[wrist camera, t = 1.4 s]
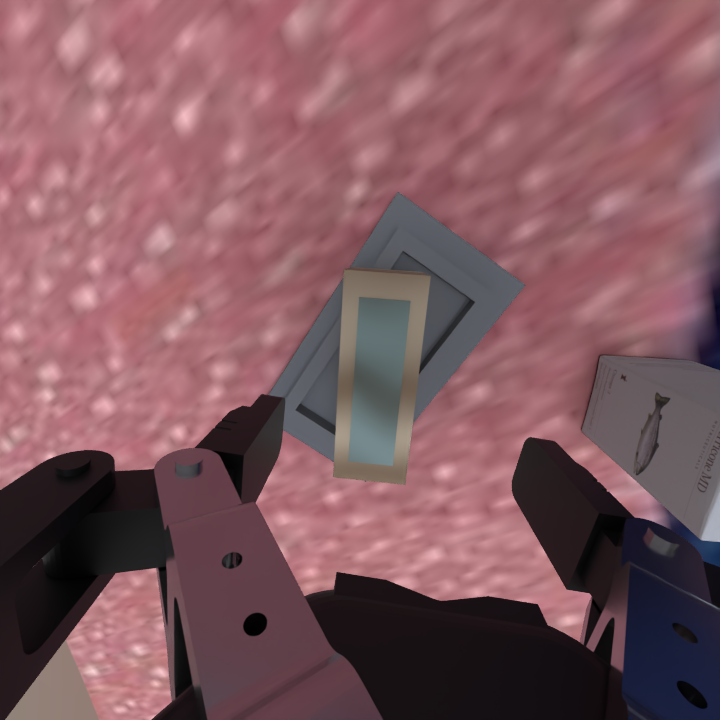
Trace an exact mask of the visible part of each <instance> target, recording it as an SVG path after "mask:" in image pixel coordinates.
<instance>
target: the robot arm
mask: <svg viewBox="0 0 720 720" xmlns="http://www.w3.org/2000/svg"><path fill="white" fill-rule="evenodd" d="M284 413H285V398H284V397H277V396H271V395H265V394H261V395H260V397H259V398H258V399H257V400H256V401H255V402H254V404H253V405H252V406H251V407H247V406H241V407H239V408H237V409H235V410H232V411H230V412H229V413H228V414H227V415H226V416H225V417H224V418H223V419H222V421H220V422H219V423H218V424H217V425H216V426H215V428H213V429H212V431H211V432H210V433H209V434H208V435H207V436H206V437H205V438H204V439H203V440H202V441H201V442H200V443H199V444H198V445H197V446H196V447H195V448H188V449H182V450H178V451H175V452H172V453H169V454H167V455H166V456H164V457H162V458H161V459H160V460H159V461H158V462H157V463H156V465H155V467H154V469H149V470H131V471H115V464H114V458H113V457H112V456H111V455H110V454H108V453H106V452H102V451H96V450H84V451H75V452H70V453H66V454H62V455H59V456H56V457H53V458H51V459H49V460H47V461H45V462H43V463H41V464H39V465H38V466H36V467H35V468H33V469H32V470H30V471H29V472H27V473H26V474H24V475H23V476H21V477H20V478H18V479H17V480H15V481H14V482H12V483H11V484H9V485H8V486H6V487H5V488H3V489H2V490H0V720H5V719H6V718H7V716H8V715H9V713H10V712H11V711H12V710H13V708H14V707H15V706H16V704H17V703H18V702H19V700H20V699H21V698H22V696H23V695H24V694H25V692H26V691H27V690H28V689H29V687H30V686H31V685H32V683H33V682H34V681H35V679H36V678H37V677H38V675H39V674H40V673H41V671H42V670H43V669H44V667H45V666H46V665H47V663H48V662H49V660H50V659H51V658H52V657H53V655H54V654H55V653H56V651H57V650H58V649H59V647H60V646H61V645H62V643H63V642H64V641H65V640H66V638H67V637H68V636H69V634H70V633H71V632H72V630H73V629H74V628H75V626H76V625H77V624H78V622H79V621H80V620H81V618H82V617H83V616H84V614H85V613H86V612H87V610H88V609H89V608H90V606H91V605H92V604H93V602H94V601H95V600H96V599H97V597H98V596H99V595H100V593H101V592H102V591H103V589H104V588H105V587H106V585H107V584H108V583H109V581H110V580H111V579H112V577H113V576H114V575H115V573H120V572H127V571H135V570H143V569H151V568H156V570H157V578H158V585H159V592H160V599H161V607H162V614H163V621H164V628H165V636H166V643H167V654H168V668H169V680H170V690H171V698H172V702H171V703H170V704H169V705H168V706H167V707H165V708H164V709H163V710H162V711H161V712H160V713H159V714H157V715H156V716H155V717H154V718H153V719H152V720H720V567H718V566H715V565H712V564H709V563H707V562H704V561H703V559H702V557H701V555H700V553H699V552H698V551H697V549H696V548H695V547H694V546H693V545H692V544H690V543H689V542H688V541H687V540H685V539H684V538H683V537H681V536H680V535H678V534H677V533H675V532H673V531H672V530H670V529H668V528H666V527H664V526H662V525H660V524H657V523H655V522H652V521H649V520H646V519H641V518H635V517H634V516H633V515H632V514H631V513H630V512H629V511H628V510H627V509H626V508H625V507H624V506H623V505H622V504H621V503H620V502H619V501H618V500H617V499H616V498H615V497H614V496H613V495H612V494H611V493H610V492H607V491H606V490H607V489H606V488H605V487H604V486H603V485H602V484H601V483H600V482H597V479H596V478H595V477H594V476H593V475H592V474H591V473H590V472H589V471H588V470H587V469H585V468H584V467H582V466H581V465H579V464H578V463H576V462H575V461H574V460H573V459H572V458H571V457H570V456H569V455H568V454H567V453H566V452H565V451H564V450H563V449H562V448H561V447H560V446H559V445H558V444H557V443H556V442H555V441H551V440H545V439H539V438H532V437H529V438H527V439H526V441H525V442H524V445H523V448H522V451H521V454H520V457H519V460H518V463H517V466H516V470H515V473H514V476H513V479H512V493H513V496H514V498H515V500H516V502H517V504H518V506H519V507H520V509H521V511H522V512H523V514H524V516H525V518H526V519H527V521H528V523H529V525H530V526H531V528H532V530H533V532H534V533H535V535H536V537H537V539H538V540H539V542H540V544H541V546H542V547H543V549H544V551H545V553H546V554H547V556H548V558H549V559H550V561H551V563H552V565H553V566H554V568H555V570H556V572H557V573H558V575H559V577H560V579H561V580H562V582H563V584H564V586H565V587H566V589H567V590H573V591H579V592H585V593H590V594H591V596H592V597H591V599H590V601H589V603H588V606H587V608H586V613H585V618H584V623H583V628H582V633H581V638H580V642H578V641H577V640H575V639H573V638H572V637H570V636H568V635H567V634H565V633H563V632H561V631H559V630H557V629H555V628H553V627H551V626H548V625H547V623H546V621H545V619H544V616H543V614H542V612H541V610H540V608H539V606H538V604H533V603H527V602H520V601H514V600H508V599H502V598H495V597H489V596H487V597H477V598H468V599H458V600H448V601H439V600H435V599H432V598H430V597H427V596H425V595H422V594H420V593H417V592H415V591H412V590H410V589H407V588H405V587H402V586H400V585H397V584H395V583H392V582H390V581H387V580H383V579H377V578H371V577H364V576H358V575H352V574H346V573H339V572H337V574H336V580H335V586H334V590H326V591H321V592H316V593H312V594H309V595H306V596H304V595H303V593H302V591H301V589H300V587H299V585H298V583H297V581H296V579H295V577H294V575H293V573H292V571H291V570H290V568H289V566H288V564H287V562H286V560H285V558H284V556H283V554H282V552H281V550H280V548H279V546H278V544H277V543H276V541H275V539H274V537H273V535H272V533H271V531H270V529H269V527H268V525H267V523H266V521H265V519H264V517H263V516H262V514H261V512H260V510H259V508H258V506H257V504H256V501H257V499H258V497H259V495H260V493H261V491H262V489H263V487H264V485H265V483H266V481H267V479H268V477H269V475H270V473H271V471H272V469H273V467H274V465H275V463H276V461H277V458H278V456H279V452H280V448H281V443H282V434H283V423H284ZM33 566H34V567H33Z"/></svg>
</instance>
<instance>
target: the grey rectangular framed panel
mask: <svg viewBox="0 0 720 720" xmlns="http://www.w3.org/2000/svg"><path fill="white" fill-rule="evenodd" d="M352 267H359V268H373V269H387V270H402V271H416V272H423V273H425V274H428V275H430V276H431V279H430V287H429V295H428V303H427V311H426V320H425V328H424V336H423V344H422V352H421V360H420V369H419V377H418V385H417V393H416V401H415V409H414V418H413V423H414V422H415V420H416V419H417V418H418V417H419V415H420V414H421V413H422V412H423V410H424V409H425V408H426V407H427V406H428V404H429V403H430V402H431V401H432V399H433V398H434V397H435V396H436V394H437V393H438V392H439V391H440V390H441V388H442V387H443V386H444V385H445V383H446V382H447V381H448V380H449V379H450V377H451V376H452V375H453V374H454V372H455V371H456V370H457V369H458V367H459V366H460V365H461V364H462V363H463V361H464V360H465V359H466V358H467V356H468V355H469V354H470V353H471V351H472V350H473V349H474V348H475V347H476V345H477V344H478V343H479V342H480V340H481V339H482V338H483V337H484V336H485V334H486V333H487V332H488V331H489V329H490V328H491V327H492V326H493V324H494V323H495V322H496V321H497V320H498V318H499V317H500V316H501V315H502V313H503V312H504V311H505V310H506V308H507V307H508V306H509V305H510V304H511V302H512V301H513V300H514V299H515V297H516V296H517V295H518V294H519V292H520V291H521V290H522V289H523V288H524V286H525V284H523V283H522V282H521V281H519V280H518V279H516V278H515V277H514V276H512V275H511V274H510V273H508V272H507V271H506V270H504V269H503V268H501V267H500V266H499V265H497V264H496V263H495V262H493V261H492V260H491V259H489V258H488V257H486V256H485V255H484V254H482V253H481V252H480V251H478V250H477V249H475V248H474V247H473V246H471V245H470V244H469V243H467V242H466V241H465V240H463V239H462V238H460V237H459V236H458V235H456V234H455V233H454V232H452V231H451V230H450V229H448V228H447V227H445V226H444V225H443V224H441V223H440V222H439V221H437V220H436V219H435V218H433V217H432V216H430V215H429V214H428V213H426V212H425V211H424V210H422V209H421V208H420V207H418V206H417V205H415V204H414V203H413V202H411V201H410V200H409V199H407V198H406V197H405V196H403V195H402V194H400V193H399V192H398V193H397V194H396V196H395V197H394V199H393V201H392V202H391V204H390V205H389V207H388V208H387V210H386V211H385V213H384V215H383V216H382V218H381V219H380V221H379V222H378V224H377V226H376V227H375V229H374V230H373V232H372V233H371V235H370V237H369V238H368V240H367V241H366V243H365V244H364V246H363V248H362V249H361V251H360V252H359V254H358V255H357V257H356V259H355V260H354V262H353V263H352V265H351V266H350V268H352ZM343 278H344V277H343ZM342 298H343V279H342V281H341V282H340V284H339V285H338V287H337V288H336V290H335V292H334V293H333V295H332V296H331V298H330V299H329V301H328V303H327V304H326V306H325V307H324V309H323V310H322V312H321V314H320V315H319V317H318V318H317V320H316V321H315V323H314V325H313V326H312V328H311V329H310V331H309V332H308V334H307V336H306V337H305V339H304V340H303V342H302V343H301V345H300V347H299V348H298V350H297V351H296V353H295V354H294V356H293V358H292V359H291V361H290V362H289V364H288V365H287V367H286V369H285V370H284V372H283V373H282V375H281V376H280V378H279V380H278V381H277V383H276V384H275V386H274V387H273V389H272V390H271V392H270V394H269V395H271V396H277V397H284V398H285V413H284V423H283V430H284V431H286V432H287V433H289V434H290V435H292V436H294V437H295V438H297V439H298V440H300V441H302V442H303V443H305V444H306V445H308V446H310V447H311V448H313V449H314V450H316V451H318V452H319V453H321V454H322V455H324V456H326V457H327V458H329V459H330V460H332V461H334V453H335V433H336V414H337V395H338V375H339V356H340V336H341V317H342ZM364 481H365V480H364ZM365 482H366V481H365Z"/></svg>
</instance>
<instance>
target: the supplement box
mask: <svg viewBox="0 0 720 720" xmlns="http://www.w3.org/2000/svg"><path fill="white" fill-rule="evenodd" d="M582 432H583V433H584V434H585V435H586V436H587V437H588V438H589V439H590V440H591V441H592V442H594V443H595V444H596V445H597V446H598V447H599V448H600V449H601V450H602V451H603V452H605V453H606V454H607V455H608V456H609V457H610V458H611V459H612V460H613V461H615V462H616V463H617V464H618V465H619V466H620V467H621V468H622V469H623V470H624V471H626V472H627V473H628V474H629V475H630V476H631V477H632V478H633V479H634V480H636V481H637V482H638V483H639V484H640V485H641V486H642V487H643V488H644V489H645V490H646V491H648V492H649V493H650V494H651V495H652V496H653V497H654V498H655V499H656V500H658V501H659V502H660V503H661V504H662V505H663V506H664V507H665V508H666V509H668V510H669V511H670V512H671V513H672V514H673V515H674V516H675V517H676V518H677V519H678V520H680V521H681V522H682V523H683V524H684V525H685V526H686V527H687V528H688V529H690V530H691V531H692V532H693V533H694V534H695V535H696V536H697V537H698V538H699V539H701V540H704V541H715V542H720V371H719V370H717V369H714V368H711V367H708V366H705V365H702V364H699V363H696V362H693V361H690V360H677V359H660V358H643V357H626V356H607V355H601V356H600V359H599V364H598V370H597V375H596V379H595V384H594V388H593V392H592V395H591V399H590V403H589V406H588V410H587V414H586V417H585V421H584V424H583V427H582Z"/></svg>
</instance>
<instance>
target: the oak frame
mask: <svg viewBox="0 0 720 720" xmlns="http://www.w3.org/2000/svg"><path fill="white" fill-rule="evenodd" d="M430 279H431V276H430V275H428V274H425V273H423V272H416V271H402V270H387V269H373V268H359V267H352V268H348V269H344V278H343V298H342V317H341V336H340V356H339V375H338V395H337V414H336V433H335V453H334V472H333V477H337V478H346V479H356V480H365V481H375V482H384V483H394V484H403V485H405V483H406V475H407V467H408V458H409V450H410V442H411V434H412V426H413V418H414V409H415V401H416V393H417V385H418V377H419V369H420V360H421V352H422V344H423V336H424V328H425V320H426V311H427V303H428V295H429V287H430Z"/></svg>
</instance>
